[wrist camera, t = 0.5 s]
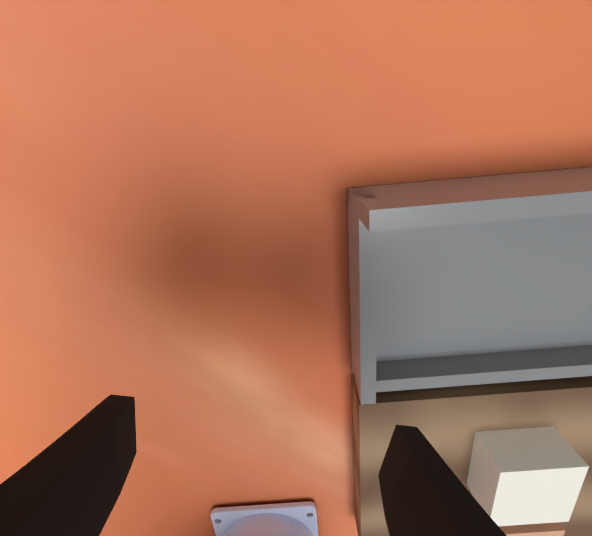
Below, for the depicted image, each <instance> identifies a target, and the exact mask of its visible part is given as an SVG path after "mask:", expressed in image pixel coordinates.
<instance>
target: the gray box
mask: <svg viewBox="0 0 592 536" xmlns="http://www.w3.org/2000/svg"><path fill="white" fill-rule="evenodd" d="M347 203H348V245H349V286H350V328H351V368H352V372H353V376H354V379H355V383H356V387H357V391H358V395H359V399H360V403H361V405H362V404H376V392H387V391H400V390H413V389H426V388H439V387H453V386H466V385H479V384H492V383H505V382H519V381H532V380H545V379H558V378H572V377H585V376H592V167H582V168H571V169H559V170H548V171H536V172H525V173H513V174H502V175H490V176H479V177H468V178H456V179H445V180H433V181H422V182H410V183H399V184H387V185H376V186H365V187H353V188H347Z"/></svg>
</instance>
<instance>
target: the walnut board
mask: <svg viewBox="0 0 592 536" xmlns="http://www.w3.org/2000/svg"><path fill="white" fill-rule="evenodd" d="M352 411H353V452H354V494H355V519H356V525H357V531H358V536H390V535H389V531H388V528H387V524H386V520H385V515H384V509H383V503H382V497H381V491H380V484H379V477H378V474H379V471H380V468H381V465H382V463H383V460H384V457H385V454H386V451H387V449H388V446H389V443H390V440H391V437H392V434H393V432H394V429H395V426H396V425H404V426H414V427H417V428H418V429H419V430H420V431H421V432H422V434H423V435H424V436H425V437H426V439H427V440H428V441H429V442H430V444H431V445H432V446H433V447H434V449H435V450H436V451H437V452H438V454H439V455H440V456H441V458H442V459H443V460H444V461H445V463H446V464H447V465H448V466H449V468H450V469H451V470H452V471H453V473H454V474H455V475H456V476H457V478H458V479H459V480H460V481H461V482H462V484H463V485H464V486H465V487H466V489H467V490H468V491H469V492H470V489H469V487H468V485H467V478H468V472H469V466H470V460H471V454H472V448H473V442H474V437H475V432H480V431H493V430H507V429H521V428H534V427H548V426H554V428H555V429H556V430H557V431H558V432H559V433H560V434H561V435H562V437H563V438H564V439H565V440H566V441H567V442H568V443H569V444H570V446H571V447H572V448H573V449H574V450H575V451H576V452H577V453H578V455H579V456H580V457H581V458H582V459H583V460H584V461H585V462H586V463H587V465H588V466H589V468H588V471H587V474H586V476H585V479H584V482H583V484H582V487H581V490H580V492H579V495H578V498H577V501H576V503H575V506H574V509H573V511H572V514H571V517H570V520H569V522H560V523H561V525H562V526H563V527H564V529H565V533H564V536H592V376H585V377H572V378H558V379H545V380H532V381H519V382H505V383H492V384H479V385H466V386H453V387H439V388H426V389H413V390H400V391H387V392H376V404H362V405H361V403H360V399H359V395H358V391H357V387H356V383H355V379H354V376H353V374H352Z"/></svg>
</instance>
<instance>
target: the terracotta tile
mask: <svg viewBox="0 0 592 536" xmlns="http://www.w3.org/2000/svg"><path fill="white" fill-rule="evenodd" d="M470 493H471V491H470ZM471 495H472V493H471ZM472 496H473V495H472ZM499 528H500V529H501V530H502V531H503V532H504V533H505V534H506V535H507V536H564V533H565V529H564V527H563V526H562V525H561V523H560V522H556V523H541V524H526V525H511V526H499Z"/></svg>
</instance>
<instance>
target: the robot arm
mask: <svg viewBox="0 0 592 536" xmlns="http://www.w3.org/2000/svg"><path fill="white" fill-rule="evenodd" d="M135 455H136V428H135V401H134V397H129V396H119V395H110V396H108V397H107V398H106V399H104V400H103V401H102V402H101V403H100V404H99V405H97V406H96V407H95V408H94V409H93V410H91V411H90V412H89V413H88V414H87V415H86V416H84V417H83V418H82V419H81V420H80V421H79V422H77V423H76V424H75V425H74V426H73V427H71V428H70V429H69V430H68V431H67V432H65V433H64V434H63V435H62V436H61V437H59V438H58V439H57V440H56V441H55V442H53V443H52V444H51V445H50V446H48V447H47V448H46V449H45V450H43V451H42V452H41V453H40V454H38V455H37V456H36V457H35V458H34V459H32V460H31V461H30V462H29V463H27V464H26V465H25V466H24V467H22V468H21V469H20V470H19V471H17V472H16V473H15V474H13V475H12V476H11V477H9V478H8V479H7V480H5V481H4V482H3V483H2V484H0V536H99V535H100V533H101V531H102V529H103V527H104V525H105V523H106V521H107V519H108V517H109V515H110V513H111V511H112V509H113V507H114V505H115V503H116V501H117V499H118V497H119V495H120V493H121V490H122V488H123V485H124V483H125V480H126V478H127V475H128V473H129V470H130V468H131V465H132V462H133V460H134V457H135ZM378 477H379V484H380V491H381V497H382V503H383V509H384V515H385V520H386V524H387V528H388V531H389V535H390V536H507V535H506V534H505V533H504V532H503V531H502V530H501V529H500V528H499V526H498V525H497V524H496V523H495V522H494V521H493V520H492V518H491V517H490V516H489V515H488V514H487V513H486V511H485V510H484V509H483V508H482V507H481V505H480V504H479V503H478V502H477V501H476V499H475V498H474V497H473V496H472V495H471V493H470V492H469V491H468V490H467V489H466V487H465V486H464V485H463V484H462V482H461V481H460V480H459V479H458V478H457V476H456V475H455V474H454V473H453V471H452V470H451V469H450V468H449V466H448V465H447V464H446V463H445V461H444V460H443V459H442V458H441V456H440V455H439V454H438V452H437V451H436V450H435V449H434V447H433V446H432V445H431V444H430V442H429V441H428V440H427V439H426V437H425V436H424V435H423V434H422V432H421V431H420V430H419V429H418V428H417V427H414V426H404V425H396V426H395V429H394V432H393V434H392V437H391V440H390V443H389V446H388V449H387V451H386V454H385V457H384V460H383V463H382V465H381V468H380V471H379V474H378ZM210 517H211V521H212V524H213V527H214V531H215V534H216V536H319V535H318V524H317V513H316V505H315V503H314V502H311V501H306V502H292V503H277V504H263V505H249V506H234V507H220V508H214V509H212V511H211V515H210Z"/></svg>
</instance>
